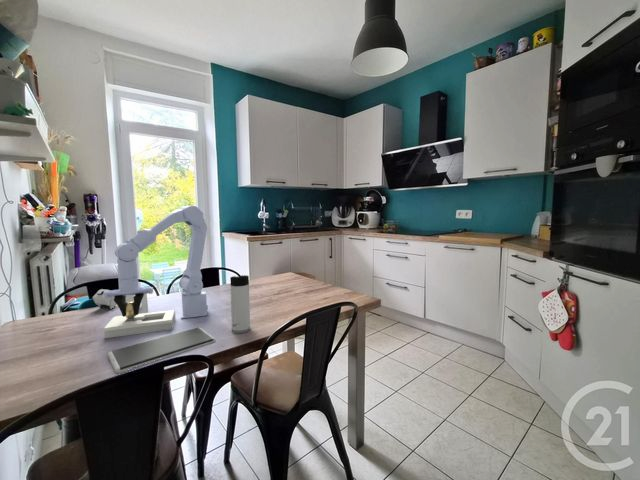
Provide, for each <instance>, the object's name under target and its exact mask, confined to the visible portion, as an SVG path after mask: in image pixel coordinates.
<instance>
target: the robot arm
mask: <svg viewBox="0 0 640 480" xmlns="http://www.w3.org/2000/svg"><path fill="white" fill-rule="evenodd" d="M204 217H205V216H204V212H203V211H202V210H201V209H200V208H199V207H198V206H196V205H180V207H178V209H177V208H176V209H174V210H172V212H170V213H169V214H167V215H166V216H165V217H163V218H162V219H160V221H158V222H157V223H156V224H155V225H153V226H152V227H150V228H142V230H141V229H138V230H137V231H136V234H134V235H133V236H132V237H129V239H125V240H124V242H123V243H120V244H119V245H117V246H116V248H115V251H114V255H115V256H116V257H117V260H116V261H117V266H116V267H117V278H118V289H112V290H111V291H105V292H104V298H108V297H115V298H114V302H115V303H116V306H117V307H118V308H119V311H120V312H121V316H123V317H125V303H126V295H135V296H134V297H133V298H134V304H135V315H138V314H139V308H140V304H141V301H142V298H143V296H144V294H149V295H152V294H154V287H153V286H151V287H148V286H147V287H146V286H145V287H142V286H141V287H140V285H139V277H138V276H139V275H138V274H139V273H138V263H137V258H138V256H139V253H142V251H145V249H147V248H148V247H149V246H151V245H152V244H153V243H155V242H157V241H156V240H157V237H158V236H159V235H160V234H161V233H162V232H164V231H166V230H167V229H169V228H170V227H172V226H173V225H175V224H178V223H179V224H180V223H185V224H186V225H187V226H188V227H189V228H190V229H191V231H192V233H191V239H190V243H189V244H190V245H189V250H188V255H187V261H186V262H187V263H186V268H185V270H184V271H183V274H182V277H181V278H180V280H179V282H178V283H179V288H181V290H182V291H181V309H182V311H181V315H180V319H187V318H197V317H205V316H208V307H209V306H208V301H207V300H208V299H207V291H202V290H203V288H204V283H203V281H202V280H203V275H202V271H201V268H202V261H203V255H204V250H205V244H206V243H205V242H206V237H207V232H208V231H207V230H208V226H207V223H206V220H205V218H204Z"/></svg>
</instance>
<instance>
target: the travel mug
mask: <svg viewBox="0 0 640 480" xmlns="http://www.w3.org/2000/svg"><path fill="white" fill-rule="evenodd" d="M249 278H250V277H249V275H240V276H235V275H233V276H230V280H229V281H230V311H231V314H230V316H231V332H232V333H234V334H244V333H247V332H249V331H250V330H251V319H250V318H251V311H250V310H251V309H250V304H251V303H250V281H249V280H250V279H249Z"/></svg>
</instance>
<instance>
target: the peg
mask: <svg viewBox="0 0 640 480" xmlns="http://www.w3.org/2000/svg"><path fill="white" fill-rule="evenodd" d="M135 316H136V315H135V304H134V301H130V302H126V303H125V317H126V318H128V321H135V320H134V317H135Z"/></svg>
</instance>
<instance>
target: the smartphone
mask: <svg viewBox="0 0 640 480" xmlns="http://www.w3.org/2000/svg"><path fill="white" fill-rule="evenodd" d="M214 342H216V338H215V337H214V336H213V335H211V334H210V333H209V332H207V331H205V330H204V329H203V328H202V327H200V326H199V327H195V328H191V329H187V330H184V331H180V332H175V333H173V334H169V335H165V336H162V337H158V338H154V339H151V340H146V341H144V342H143V341H142V342H141V343H136V344H132V345H130V346H125V347H122V348H118V349H115V350H111V351H108V353H107V357H108V359H109V361H110V364H111V366H112V369H113V370H114V373H116V374H121V373H124V372H126V371H125V370H127V371H129V370H128V369H130V370H132V369H131V368H133V367H136V366H139V365H142V366H144V365H143V364H145V365H147V364H146V363H148V364H150V363H149V362H151V363H153V362H152V361H154V360H158V359H160V358H164V359H166V358H165V357H167V358H170V357H172V355H173V356H175V354H176V355H178V354H177V353H179V354H181V352H182V353H184V352H183V351H185V352H187V350H188V351H190V350H194V349H196V348H199V347H203V346H207V345H208V344H213V343H214ZM169 356H170V357H169ZM158 361H159V360H158ZM154 362H155V361H154ZM139 367H140V366H139ZM136 368H137V367H136ZM133 369H134V368H133ZM123 371H124V372H123Z"/></svg>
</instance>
